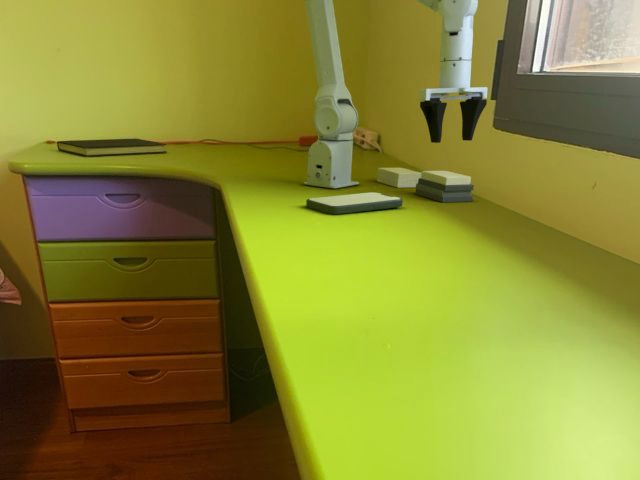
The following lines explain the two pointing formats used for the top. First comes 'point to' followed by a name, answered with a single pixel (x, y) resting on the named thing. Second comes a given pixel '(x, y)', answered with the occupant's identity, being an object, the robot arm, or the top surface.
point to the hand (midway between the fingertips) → (451, 141)
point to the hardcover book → (111, 147)
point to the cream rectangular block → (398, 177)
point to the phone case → (354, 203)
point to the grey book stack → (444, 191)
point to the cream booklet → (446, 177)
